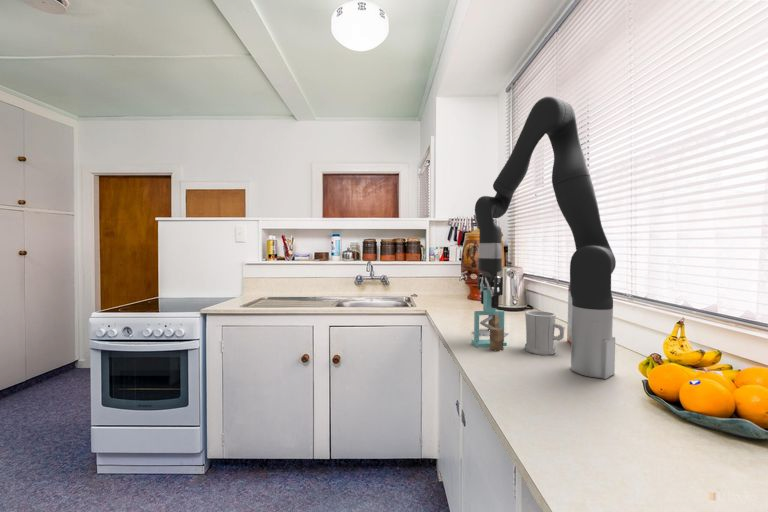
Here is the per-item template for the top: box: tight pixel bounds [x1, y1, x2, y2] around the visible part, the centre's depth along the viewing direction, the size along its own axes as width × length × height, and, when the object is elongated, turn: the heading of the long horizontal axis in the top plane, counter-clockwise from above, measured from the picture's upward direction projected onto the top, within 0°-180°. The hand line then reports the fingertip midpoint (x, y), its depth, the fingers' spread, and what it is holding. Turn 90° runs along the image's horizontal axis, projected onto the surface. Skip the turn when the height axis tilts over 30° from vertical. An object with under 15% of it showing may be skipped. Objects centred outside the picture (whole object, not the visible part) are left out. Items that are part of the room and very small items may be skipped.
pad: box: [471, 329, 509, 338], centre depth 132 cm, size 7×12×1 cm, turn 57°
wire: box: [479, 315, 494, 329], centre depth 125 cm, size 6×26×1 cm, turn 164°
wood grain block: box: [487, 315, 505, 352], centre depth 125 cm, size 4×30×7 cm, turn 164°
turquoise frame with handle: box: [471, 290, 508, 348], centre depth 117 cm, size 5×10×18 cm, turn 98°
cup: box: [524, 310, 566, 356], centre depth 111 cm, size 10×9×12 cm
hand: (489, 305), depth 117 cm, fingers open, 7 cm apart
